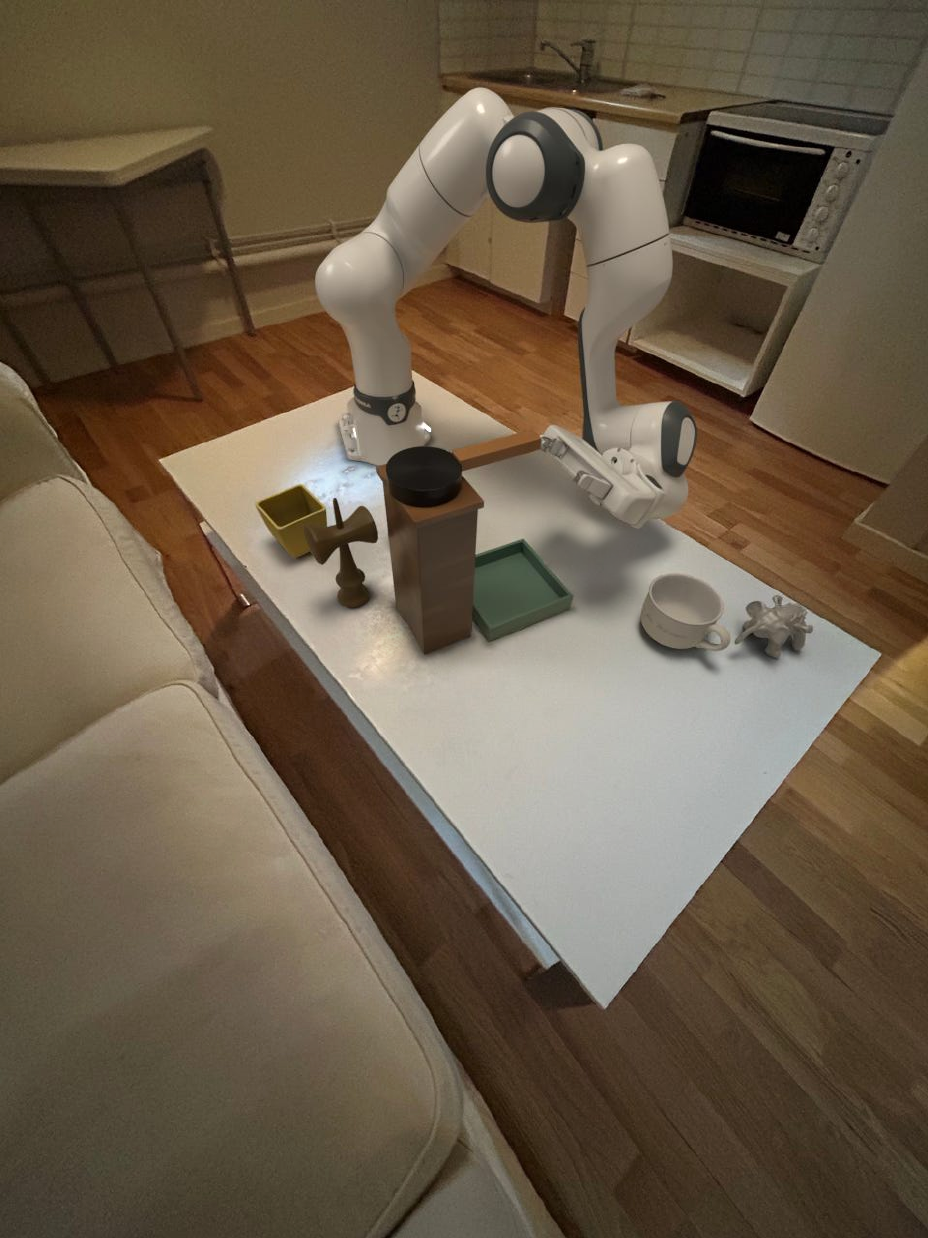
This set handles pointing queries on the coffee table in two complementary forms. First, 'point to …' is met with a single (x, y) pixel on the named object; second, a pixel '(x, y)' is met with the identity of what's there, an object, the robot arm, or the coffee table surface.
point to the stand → (434, 564)
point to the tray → (514, 590)
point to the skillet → (448, 467)
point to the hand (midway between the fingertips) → (558, 459)
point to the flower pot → (292, 517)
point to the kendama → (344, 550)
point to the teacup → (683, 612)
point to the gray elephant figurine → (776, 624)
